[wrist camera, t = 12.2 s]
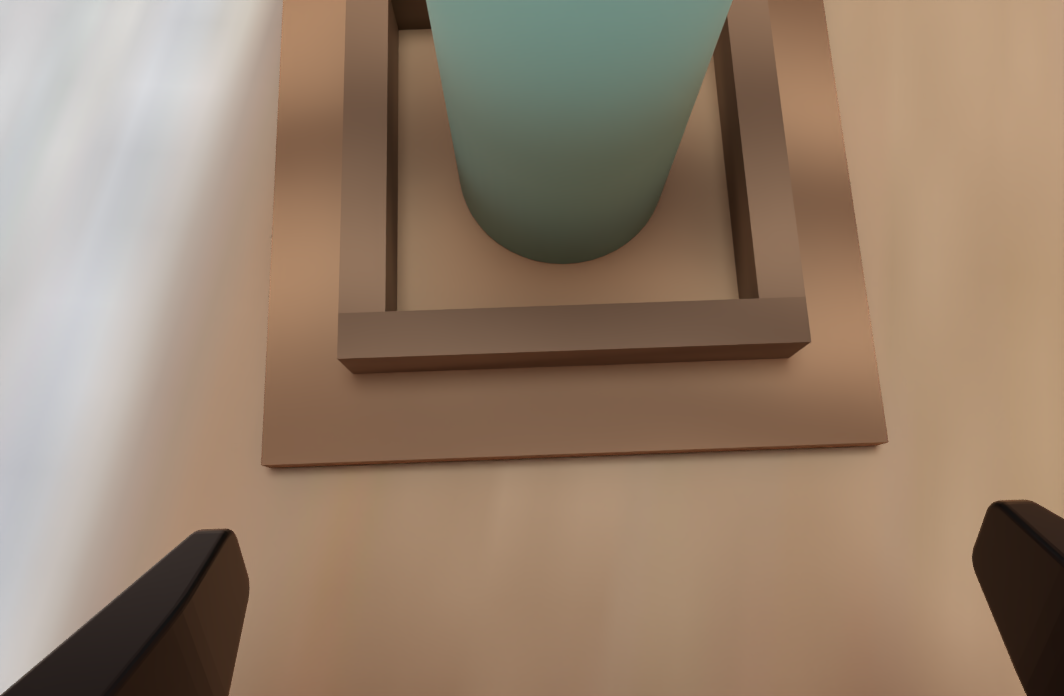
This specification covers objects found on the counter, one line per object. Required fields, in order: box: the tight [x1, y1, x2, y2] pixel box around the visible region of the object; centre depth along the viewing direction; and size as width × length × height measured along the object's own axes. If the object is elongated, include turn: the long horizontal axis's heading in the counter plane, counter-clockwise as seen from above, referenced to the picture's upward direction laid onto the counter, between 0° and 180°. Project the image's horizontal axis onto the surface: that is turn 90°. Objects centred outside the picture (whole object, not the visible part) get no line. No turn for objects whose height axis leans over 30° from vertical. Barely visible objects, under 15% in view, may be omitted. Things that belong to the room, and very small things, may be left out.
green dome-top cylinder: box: [426, 0, 733, 264], centre depth 14 cm, size 5×5×10 cm
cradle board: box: [261, 0, 888, 468], centre depth 19 cm, size 14×14×2 cm
